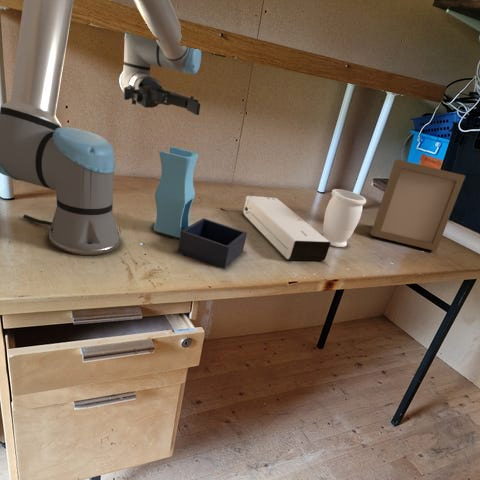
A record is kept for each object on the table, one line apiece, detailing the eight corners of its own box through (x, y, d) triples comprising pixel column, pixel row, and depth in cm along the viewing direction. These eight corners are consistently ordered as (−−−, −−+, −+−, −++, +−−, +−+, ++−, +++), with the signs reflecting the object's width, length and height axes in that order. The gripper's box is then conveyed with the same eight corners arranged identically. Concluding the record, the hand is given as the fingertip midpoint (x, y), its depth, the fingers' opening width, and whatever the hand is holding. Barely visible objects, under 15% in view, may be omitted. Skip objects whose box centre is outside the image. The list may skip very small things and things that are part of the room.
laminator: (324, 262, 114) (331, 242, 110) (285, 262, 109) (291, 240, 105) (272, 215, 139) (277, 197, 136) (239, 213, 134) (243, 195, 130)
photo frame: (434, 253, 139) (471, 179, 126) (372, 238, 140) (401, 162, 126) (424, 238, 152) (456, 169, 138) (367, 224, 152) (393, 154, 139)
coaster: (147, 230, 108) (147, 229, 108) (164, 221, 116) (164, 220, 116) (177, 241, 107) (178, 239, 106) (193, 231, 114) (193, 230, 114)
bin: (178, 252, 101) (180, 231, 98) (200, 237, 112) (203, 217, 109) (224, 268, 99) (228, 247, 96) (242, 252, 109) (247, 232, 106)
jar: (311, 234, 131) (325, 187, 123) (338, 235, 135) (353, 190, 127) (327, 248, 123) (344, 199, 115) (355, 249, 127) (373, 202, 119)
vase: (163, 221, 115) (170, 146, 104) (189, 228, 114) (200, 153, 103) (151, 230, 108) (158, 150, 97) (180, 238, 107) (190, 159, 97)
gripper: (185, 111, 125) (215, 127, 111) (100, 98, 113) (122, 115, 98) (188, 83, 121) (220, 96, 107) (101, 67, 109) (124, 79, 94)
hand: (173, 105), depth 102 cm, fingers open, 13 cm apart
